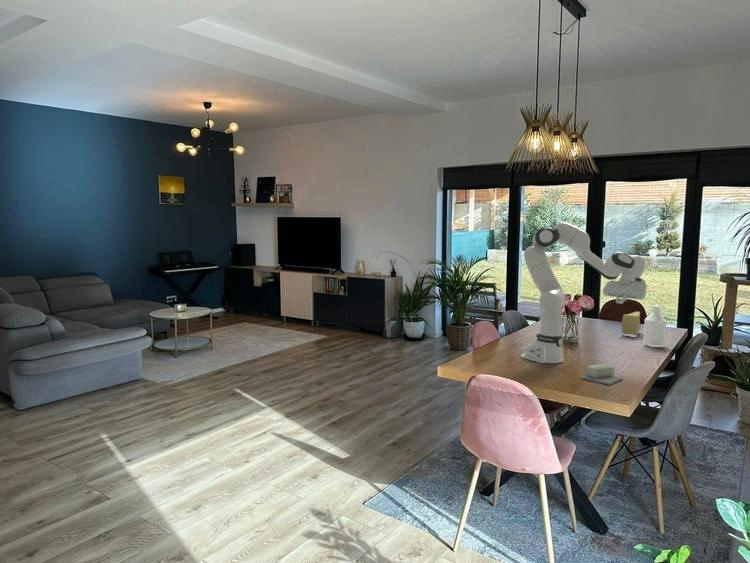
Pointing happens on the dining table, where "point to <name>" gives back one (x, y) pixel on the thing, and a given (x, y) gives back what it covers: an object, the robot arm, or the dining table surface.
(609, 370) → the skincare box
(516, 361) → the dining table surface
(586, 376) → the mat
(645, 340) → the bottle
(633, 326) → the cheese
